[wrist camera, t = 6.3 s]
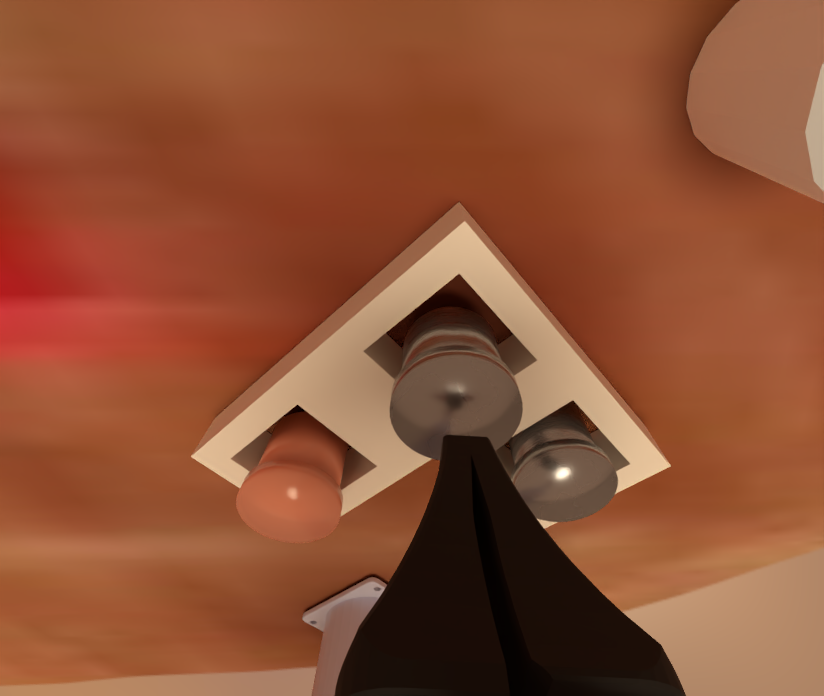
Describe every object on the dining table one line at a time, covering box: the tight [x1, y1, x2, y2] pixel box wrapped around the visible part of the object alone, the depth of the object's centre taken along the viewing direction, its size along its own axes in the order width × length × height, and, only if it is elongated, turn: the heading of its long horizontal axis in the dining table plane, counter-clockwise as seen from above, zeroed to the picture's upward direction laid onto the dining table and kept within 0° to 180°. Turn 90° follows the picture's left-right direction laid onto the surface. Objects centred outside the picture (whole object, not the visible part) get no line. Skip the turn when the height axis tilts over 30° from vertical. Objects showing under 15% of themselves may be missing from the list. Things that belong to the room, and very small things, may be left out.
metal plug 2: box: [508, 402, 618, 522], centre depth 22 cm, size 5×5×4 cm
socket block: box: [191, 202, 671, 529], centre depth 23 cm, size 16×18×3 cm
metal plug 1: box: [390, 307, 523, 460], centre depth 17 cm, size 5×5×4 cm
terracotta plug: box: [236, 412, 348, 543], centre depth 21 cm, size 5×5×4 cm
